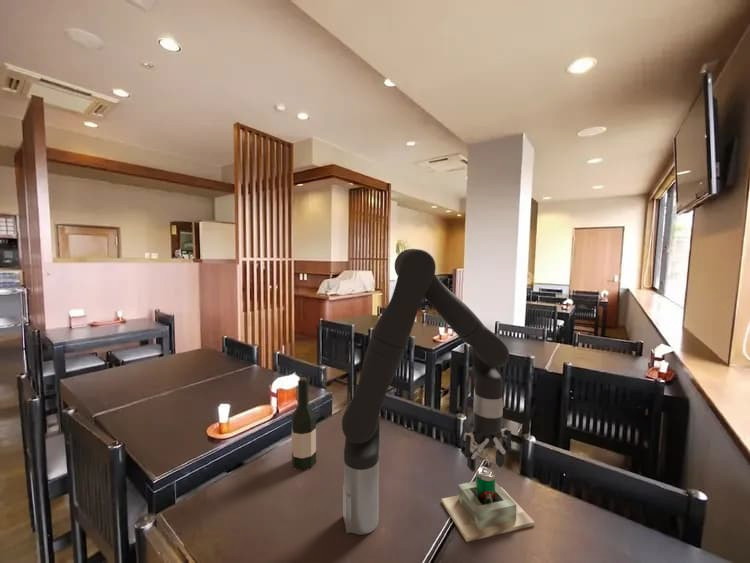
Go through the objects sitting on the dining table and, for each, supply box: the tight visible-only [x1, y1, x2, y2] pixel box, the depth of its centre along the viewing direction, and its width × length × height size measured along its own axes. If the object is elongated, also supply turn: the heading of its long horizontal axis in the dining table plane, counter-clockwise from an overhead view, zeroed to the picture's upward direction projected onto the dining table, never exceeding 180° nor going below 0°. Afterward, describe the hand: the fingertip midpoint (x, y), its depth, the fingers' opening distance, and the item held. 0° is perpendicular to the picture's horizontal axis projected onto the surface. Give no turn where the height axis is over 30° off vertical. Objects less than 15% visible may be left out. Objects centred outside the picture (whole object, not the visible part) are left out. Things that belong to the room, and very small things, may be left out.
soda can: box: [475, 466, 497, 505], centre depth 90 cm, size 5×5×12 cm
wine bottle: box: [291, 376, 317, 471], centre depth 112 cm, size 8×8×30 cm
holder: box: [440, 480, 535, 543], centre depth 90 cm, size 20×14×6 cm
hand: (485, 467), depth 89 cm, fingers open, 8 cm apart
